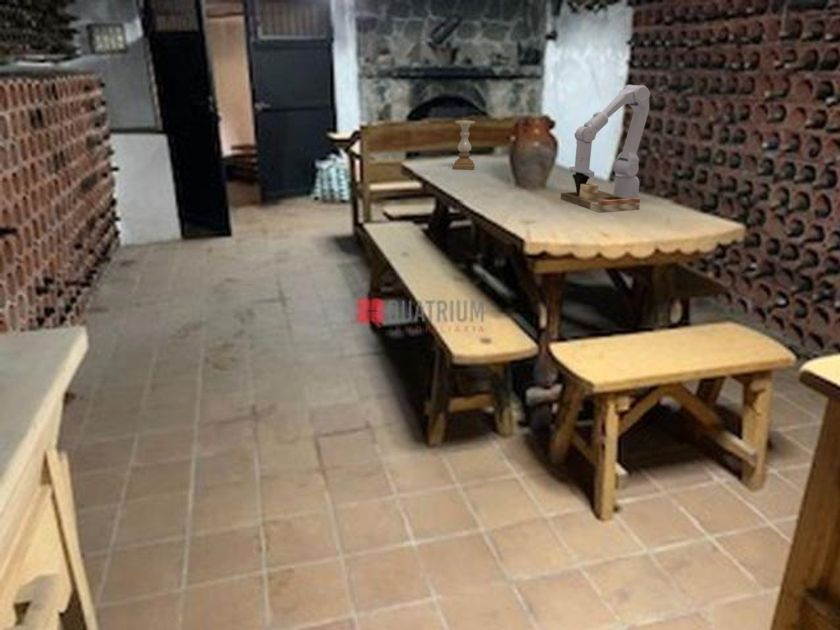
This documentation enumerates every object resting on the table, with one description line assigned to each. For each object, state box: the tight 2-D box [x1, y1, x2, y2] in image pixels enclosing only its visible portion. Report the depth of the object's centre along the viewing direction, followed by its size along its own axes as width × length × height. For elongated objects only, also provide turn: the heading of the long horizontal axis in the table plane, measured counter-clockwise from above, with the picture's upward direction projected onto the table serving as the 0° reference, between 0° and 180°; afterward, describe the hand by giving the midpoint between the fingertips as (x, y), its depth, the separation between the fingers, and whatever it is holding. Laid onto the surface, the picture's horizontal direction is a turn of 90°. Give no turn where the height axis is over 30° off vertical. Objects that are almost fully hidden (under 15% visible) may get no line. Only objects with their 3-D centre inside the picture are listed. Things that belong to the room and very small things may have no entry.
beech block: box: [579, 183, 600, 199], centre depth 256 cm, size 5×5×5 cm
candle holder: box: [452, 119, 476, 171], centre depth 340 cm, size 11×11×24 cm
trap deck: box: [560, 189, 641, 213], centre depth 257 cm, size 18×27×4 cm, turn 20°
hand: (579, 192), depth 262 cm, fingers closed
